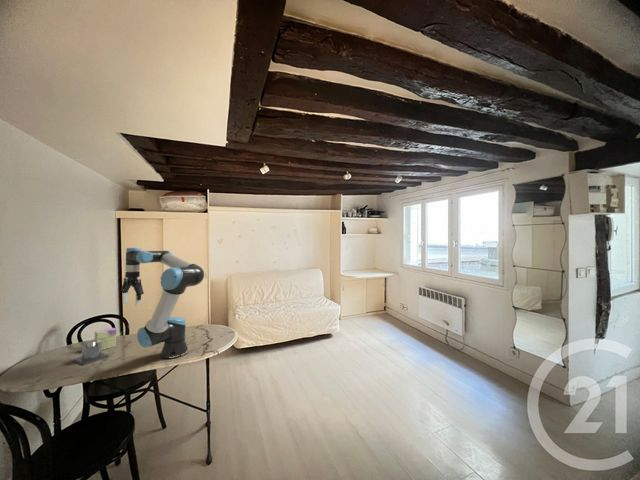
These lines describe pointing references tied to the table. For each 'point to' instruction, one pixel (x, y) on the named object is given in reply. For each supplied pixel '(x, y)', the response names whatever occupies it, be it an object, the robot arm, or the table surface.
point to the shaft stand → (84, 362)
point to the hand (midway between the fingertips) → (131, 304)
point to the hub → (91, 352)
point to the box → (106, 338)
